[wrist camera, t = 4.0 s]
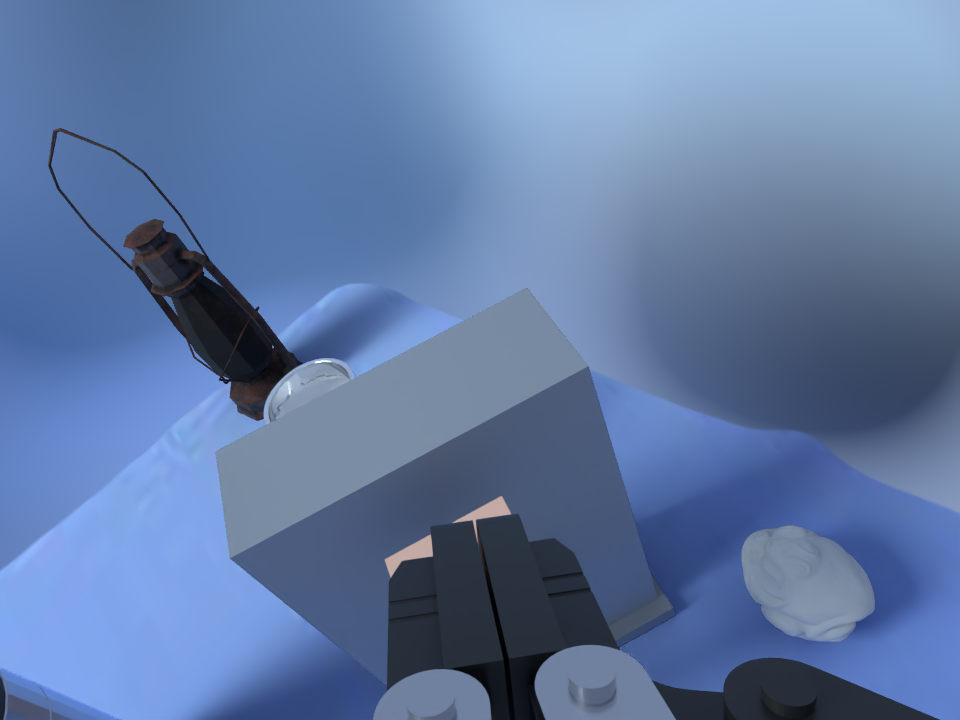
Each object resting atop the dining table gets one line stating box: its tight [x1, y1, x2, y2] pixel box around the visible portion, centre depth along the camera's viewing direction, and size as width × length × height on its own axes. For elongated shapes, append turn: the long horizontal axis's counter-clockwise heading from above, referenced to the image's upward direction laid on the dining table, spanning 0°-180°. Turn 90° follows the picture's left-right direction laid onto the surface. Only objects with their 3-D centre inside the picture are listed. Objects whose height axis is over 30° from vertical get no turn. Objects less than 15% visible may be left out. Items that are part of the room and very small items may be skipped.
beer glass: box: [264, 358, 357, 425], centre depth 51 cm, size 7×7×15 cm
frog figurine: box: [741, 525, 875, 642], centre depth 40 cm, size 6×7×7 cm
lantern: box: [48, 128, 303, 421], centre depth 60 cm, size 8×8×30 cm
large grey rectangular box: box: [216, 288, 675, 686], centre depth 38 cm, size 8×17×24 cm, turn 112°
